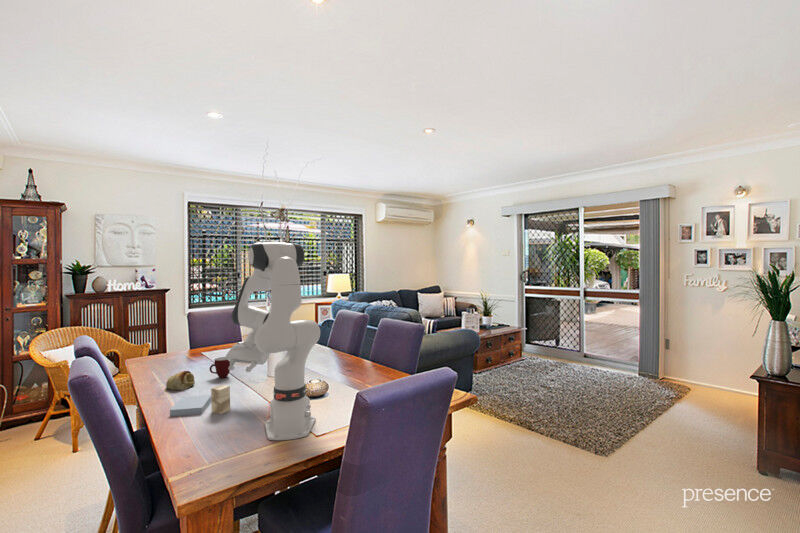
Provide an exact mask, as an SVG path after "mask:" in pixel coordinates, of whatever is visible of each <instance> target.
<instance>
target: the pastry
mask: <svg viewBox="0 0 800 533" xmlns="http://www.w3.org/2000/svg"><path fill="white" fill-rule="evenodd" d="M194 385H195V375H194V374H193V373H192V372H191V371H190V370H184V371H180V372H178V373H175V374H173V375H171V376H170V377H168V379H167V381H166V384H165V386H166V388H167V389H168V390H171V391H185V389H186V390H188V389H190V388H192V386H194Z"/></svg>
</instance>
